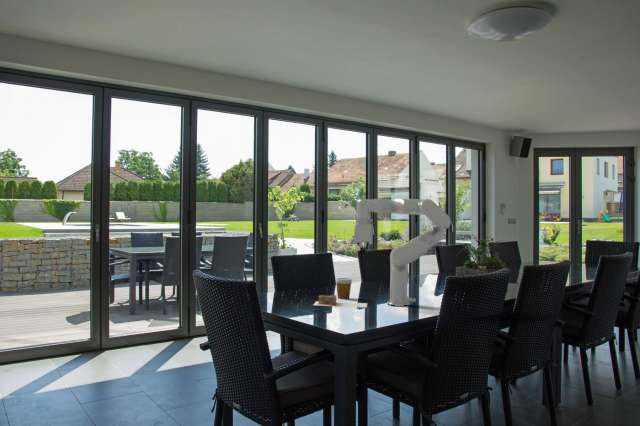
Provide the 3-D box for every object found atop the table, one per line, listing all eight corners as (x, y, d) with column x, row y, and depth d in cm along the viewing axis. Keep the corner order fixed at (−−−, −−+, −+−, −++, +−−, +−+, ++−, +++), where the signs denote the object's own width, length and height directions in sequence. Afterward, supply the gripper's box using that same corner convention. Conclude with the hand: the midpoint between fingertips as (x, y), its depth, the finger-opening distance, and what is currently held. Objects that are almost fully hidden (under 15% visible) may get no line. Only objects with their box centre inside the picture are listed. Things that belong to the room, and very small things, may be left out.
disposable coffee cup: (351, 298, 284) (352, 278, 284) (351, 301, 274) (351, 280, 274) (335, 298, 285) (336, 277, 285) (334, 301, 275) (335, 279, 275)
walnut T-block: (336, 302, 265) (336, 295, 265) (335, 305, 256) (335, 297, 256) (319, 301, 266) (320, 294, 266) (318, 304, 257) (318, 297, 257)
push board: (367, 305, 264) (367, 303, 264) (366, 309, 252) (366, 307, 252) (316, 303, 267) (316, 301, 267) (313, 307, 255) (313, 305, 255)
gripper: (377, 221, 271) (376, 254, 271) (350, 221, 273) (349, 253, 273) (377, 221, 264) (376, 255, 264) (349, 221, 266) (348, 254, 266)
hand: (362, 254), depth 268 cm, fingers closed
